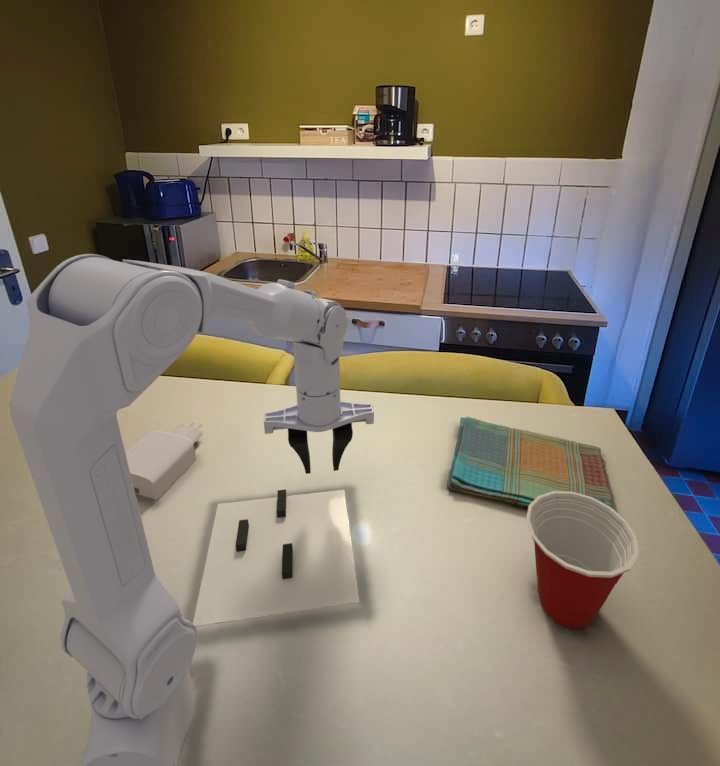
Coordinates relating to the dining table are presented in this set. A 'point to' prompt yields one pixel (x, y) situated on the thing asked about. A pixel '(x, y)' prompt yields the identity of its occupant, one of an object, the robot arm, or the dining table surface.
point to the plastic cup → (578, 554)
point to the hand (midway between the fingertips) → (321, 466)
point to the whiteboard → (278, 559)
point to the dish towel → (523, 465)
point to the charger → (161, 459)
